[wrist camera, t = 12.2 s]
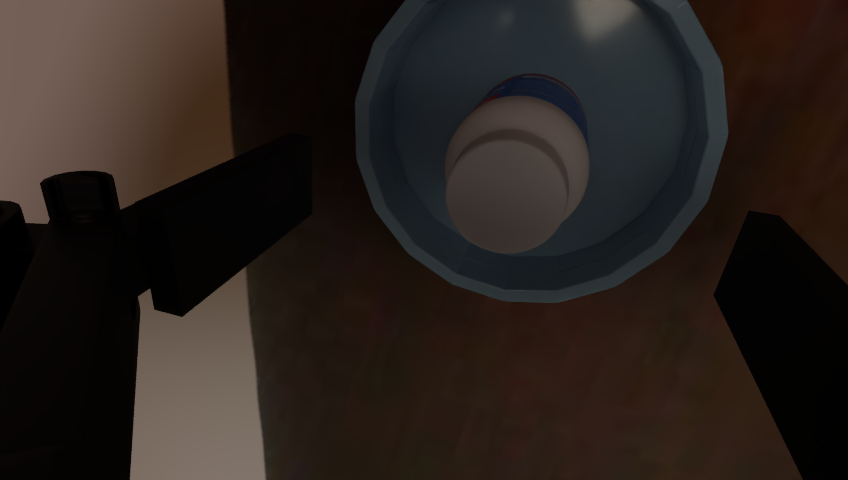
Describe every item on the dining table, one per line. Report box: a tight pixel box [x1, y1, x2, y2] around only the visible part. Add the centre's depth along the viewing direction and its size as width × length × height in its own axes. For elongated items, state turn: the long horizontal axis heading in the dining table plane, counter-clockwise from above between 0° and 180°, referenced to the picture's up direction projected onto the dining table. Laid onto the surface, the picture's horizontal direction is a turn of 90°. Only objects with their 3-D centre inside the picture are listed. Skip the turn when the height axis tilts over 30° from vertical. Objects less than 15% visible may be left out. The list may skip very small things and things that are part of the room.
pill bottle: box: [445, 73, 590, 254], centre depth 20 cm, size 6×5×10 cm
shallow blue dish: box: [355, 0, 729, 303], centre depth 23 cm, size 15×16×4 cm
